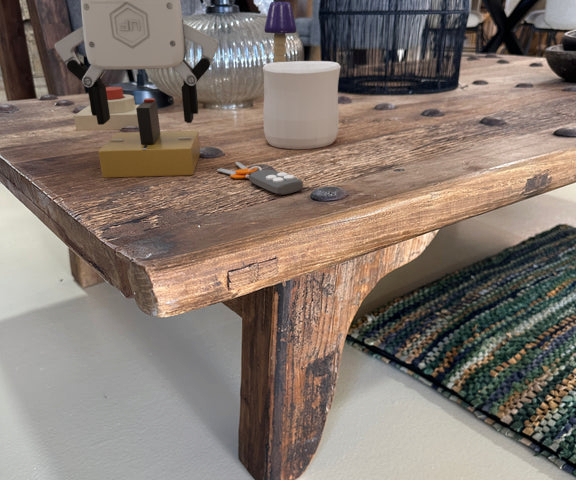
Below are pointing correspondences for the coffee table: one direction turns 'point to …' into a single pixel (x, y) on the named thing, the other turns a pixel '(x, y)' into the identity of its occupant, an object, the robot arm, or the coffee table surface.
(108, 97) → the release button
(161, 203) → the coffee table surface
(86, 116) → the box
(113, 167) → the plate
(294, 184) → the key chain
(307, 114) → the cup
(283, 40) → the toy lamp
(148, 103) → the lock turn
